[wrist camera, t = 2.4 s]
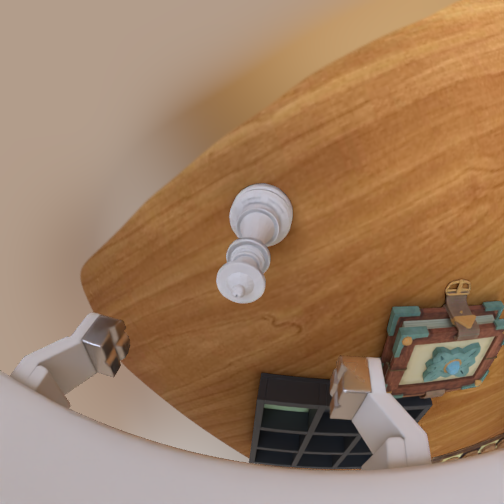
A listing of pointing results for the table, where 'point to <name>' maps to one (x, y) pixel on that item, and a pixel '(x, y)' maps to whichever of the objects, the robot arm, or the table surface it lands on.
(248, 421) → the table surface
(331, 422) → the grid
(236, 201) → the chess piece
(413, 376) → the decorative book
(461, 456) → the chessboard
